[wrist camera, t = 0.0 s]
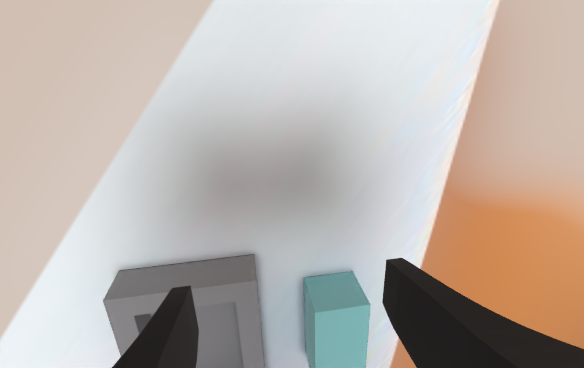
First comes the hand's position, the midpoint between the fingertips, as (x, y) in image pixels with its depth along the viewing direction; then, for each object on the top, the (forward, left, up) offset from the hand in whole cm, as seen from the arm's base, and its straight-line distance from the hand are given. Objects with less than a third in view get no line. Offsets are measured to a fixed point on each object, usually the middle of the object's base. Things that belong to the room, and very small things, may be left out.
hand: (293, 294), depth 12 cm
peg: (-12, -4, -12) cm, 18 cm away
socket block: (-12, +6, -11) cm, 18 cm away
